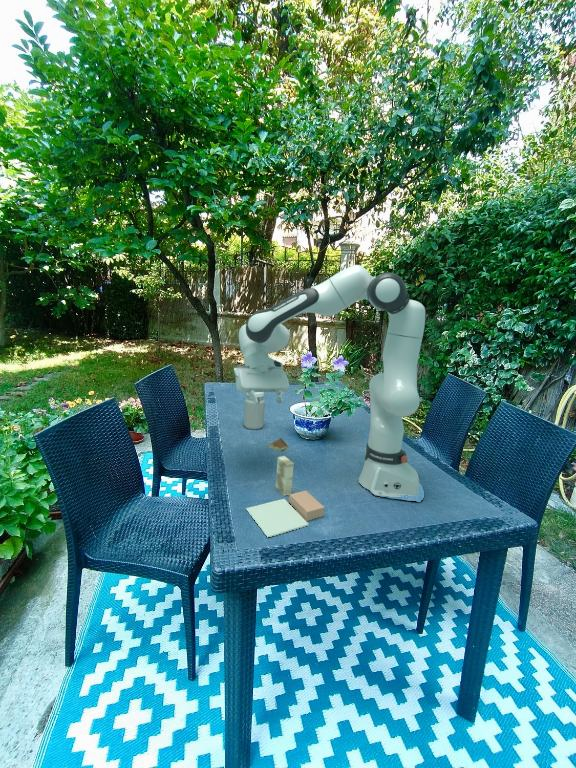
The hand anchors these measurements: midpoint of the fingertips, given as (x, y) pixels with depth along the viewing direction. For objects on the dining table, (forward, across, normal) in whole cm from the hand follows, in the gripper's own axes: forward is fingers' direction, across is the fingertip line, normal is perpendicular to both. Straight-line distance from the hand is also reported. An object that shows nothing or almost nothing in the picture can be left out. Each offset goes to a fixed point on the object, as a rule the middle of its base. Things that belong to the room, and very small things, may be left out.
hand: (268, 403), depth 117 cm
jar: (-8, +27, +49) cm, 56 cm away
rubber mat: (+35, -8, +1) cm, 36 cm away
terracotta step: (+35, +2, -1) cm, 35 cm away
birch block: (+28, +3, +9) cm, 29 cm away
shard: (+8, +23, +31) cm, 40 cm away
